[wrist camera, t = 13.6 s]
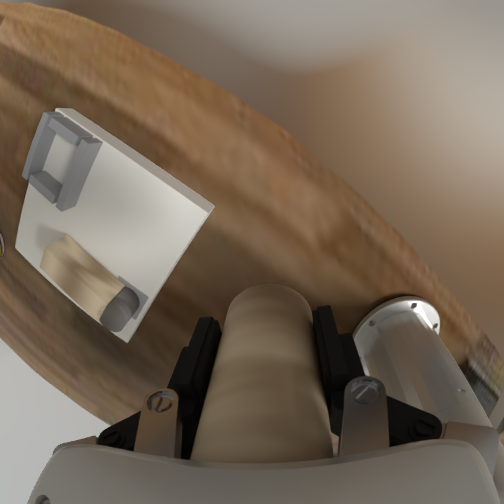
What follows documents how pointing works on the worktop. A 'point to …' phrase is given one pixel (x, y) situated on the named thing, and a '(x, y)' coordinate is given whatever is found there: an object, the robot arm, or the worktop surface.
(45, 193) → the white board with frame
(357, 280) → the worktop surface
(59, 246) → the beige angular block
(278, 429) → the loose leg
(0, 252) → the supplement bottle
